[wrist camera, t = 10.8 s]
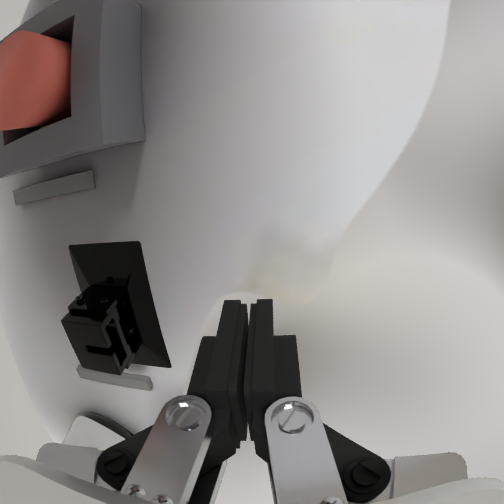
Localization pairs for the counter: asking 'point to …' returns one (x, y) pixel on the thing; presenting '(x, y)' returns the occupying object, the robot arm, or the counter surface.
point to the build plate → (113, 309)
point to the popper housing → (86, 84)
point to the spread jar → (95, 432)
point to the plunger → (34, 80)
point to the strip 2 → (116, 379)
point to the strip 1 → (55, 187)
